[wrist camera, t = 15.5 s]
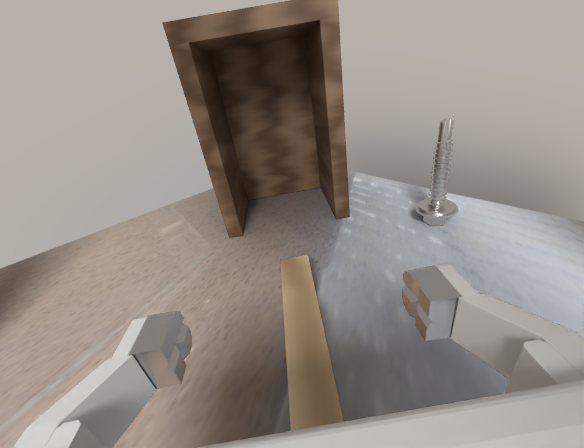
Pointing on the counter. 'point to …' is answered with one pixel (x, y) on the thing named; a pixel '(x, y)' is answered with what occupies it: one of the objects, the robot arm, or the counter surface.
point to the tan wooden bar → (306, 350)
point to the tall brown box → (266, 101)
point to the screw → (439, 181)
